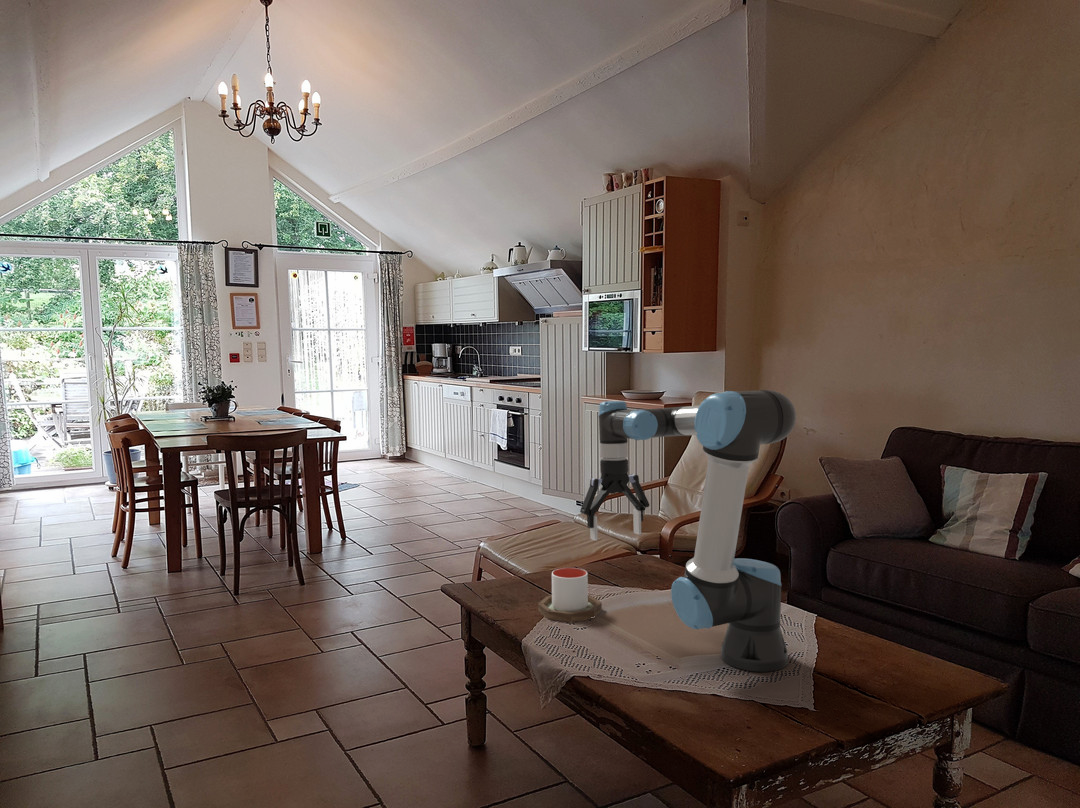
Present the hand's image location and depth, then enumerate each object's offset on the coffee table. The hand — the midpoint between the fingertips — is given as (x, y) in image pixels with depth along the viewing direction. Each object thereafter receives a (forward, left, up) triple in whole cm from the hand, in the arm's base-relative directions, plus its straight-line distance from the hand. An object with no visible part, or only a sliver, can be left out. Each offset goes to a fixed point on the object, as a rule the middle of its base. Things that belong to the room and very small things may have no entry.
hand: (616, 536), depth 207 cm
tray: (+10, +9, -22) cm, 26 cm away
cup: (+10, +9, -22) cm, 26 cm away
